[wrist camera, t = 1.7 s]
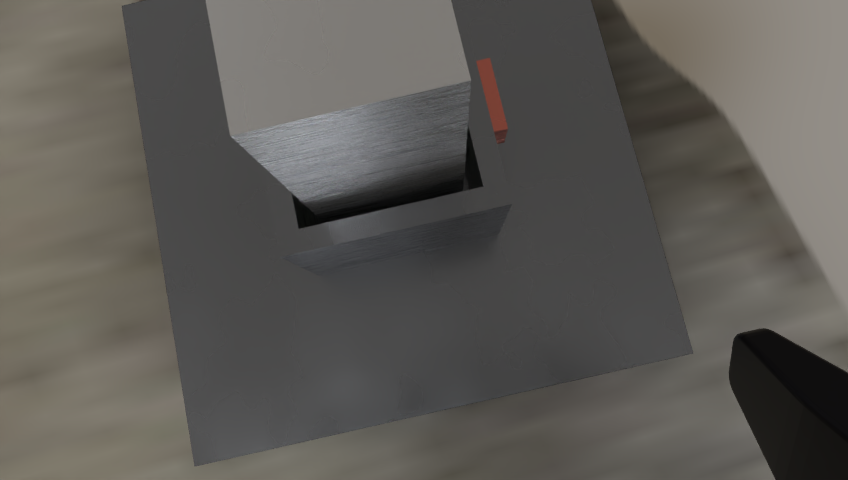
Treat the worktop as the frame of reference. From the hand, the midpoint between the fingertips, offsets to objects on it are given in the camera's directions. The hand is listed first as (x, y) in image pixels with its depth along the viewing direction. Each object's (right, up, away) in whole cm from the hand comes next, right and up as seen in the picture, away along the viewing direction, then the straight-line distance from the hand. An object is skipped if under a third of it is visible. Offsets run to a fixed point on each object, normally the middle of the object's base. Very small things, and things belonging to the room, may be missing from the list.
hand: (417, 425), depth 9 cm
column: (-1, +5, +12) cm, 13 cm away
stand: (-1, +5, +14) cm, 14 cm away
